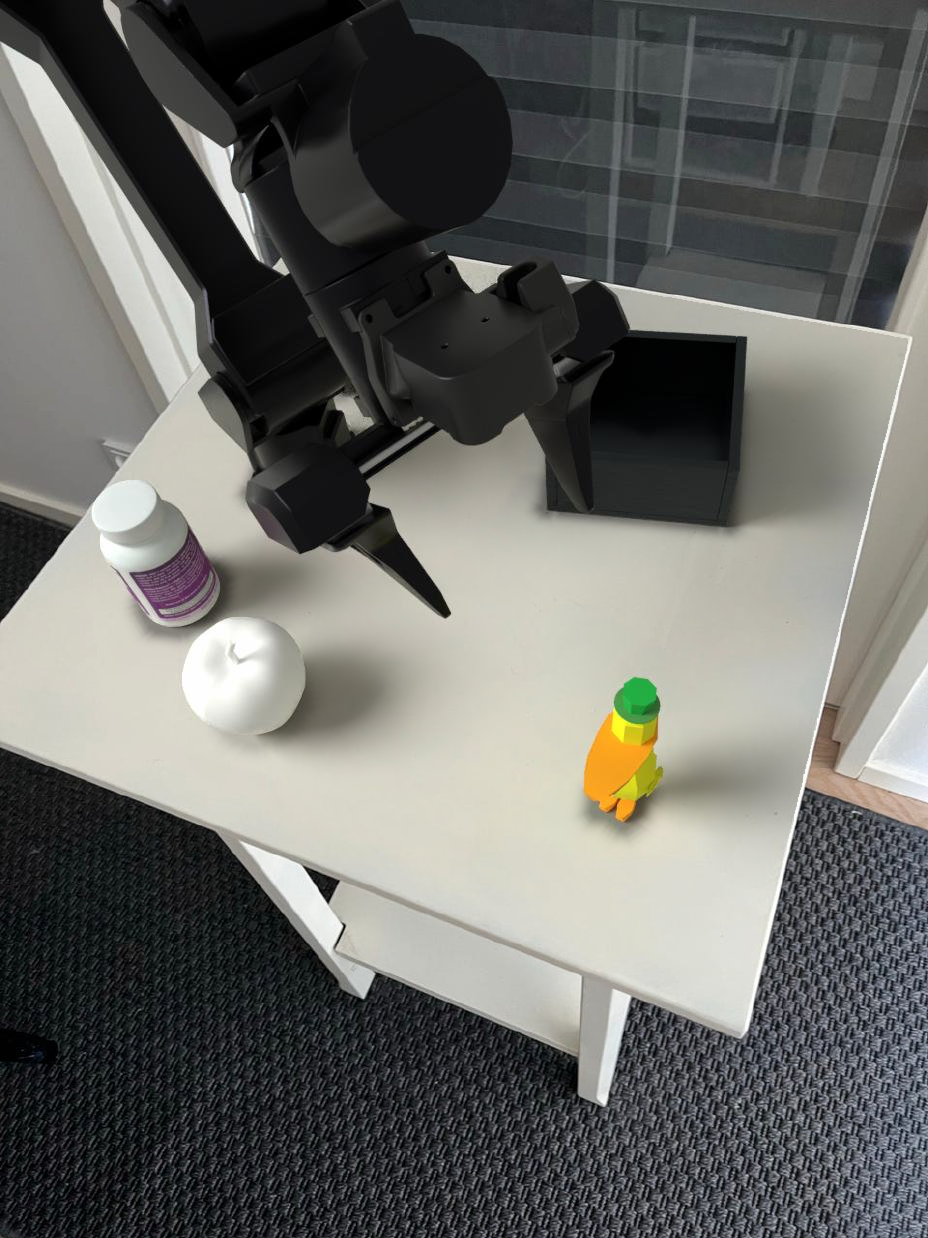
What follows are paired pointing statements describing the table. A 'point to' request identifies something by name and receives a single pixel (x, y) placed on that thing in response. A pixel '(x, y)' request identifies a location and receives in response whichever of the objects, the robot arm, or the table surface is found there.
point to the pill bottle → (155, 553)
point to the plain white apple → (244, 676)
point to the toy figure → (625, 750)
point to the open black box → (665, 429)
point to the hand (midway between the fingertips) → (517, 561)
